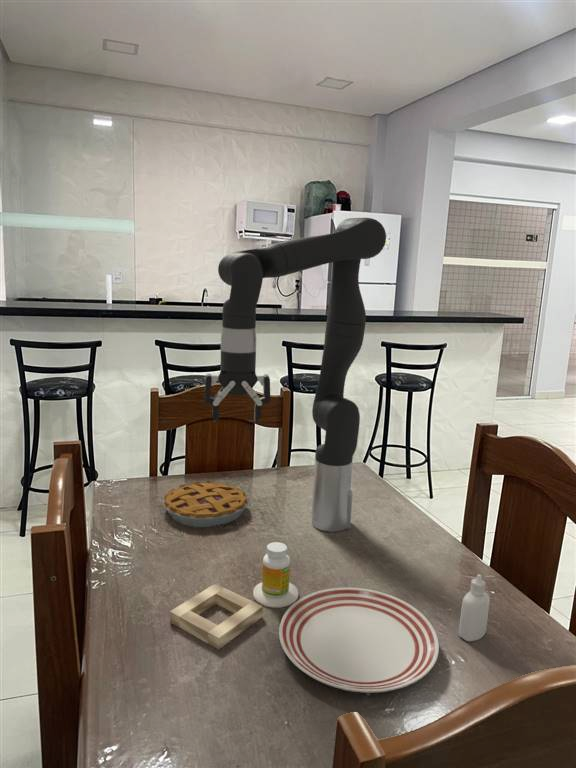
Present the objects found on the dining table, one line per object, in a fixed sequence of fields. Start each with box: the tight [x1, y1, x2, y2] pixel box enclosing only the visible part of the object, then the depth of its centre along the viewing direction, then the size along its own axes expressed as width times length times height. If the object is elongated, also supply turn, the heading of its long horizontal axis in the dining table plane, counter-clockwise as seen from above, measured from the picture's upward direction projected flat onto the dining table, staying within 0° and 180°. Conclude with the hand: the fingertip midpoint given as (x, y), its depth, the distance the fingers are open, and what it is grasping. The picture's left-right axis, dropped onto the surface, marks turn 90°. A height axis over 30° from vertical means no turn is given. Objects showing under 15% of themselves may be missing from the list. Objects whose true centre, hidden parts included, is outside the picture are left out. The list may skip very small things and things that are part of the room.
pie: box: [162, 480, 249, 528], centre depth 153 cm, size 22×22×5 cm
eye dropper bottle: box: [458, 573, 491, 642], centre depth 106 cm, size 4×6×12 cm
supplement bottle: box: [261, 541, 291, 598], centre depth 116 cm, size 5×5×10 cm
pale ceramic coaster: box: [252, 581, 299, 609], centre depth 117 cm, size 9×9×1 cm
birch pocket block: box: [169, 583, 264, 650], centre depth 108 cm, size 12×12×2 cm
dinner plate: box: [278, 587, 440, 694], centre depth 102 cm, size 28×27×3 cm
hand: (236, 421), depth 129 cm, fingers open, 8 cm apart
